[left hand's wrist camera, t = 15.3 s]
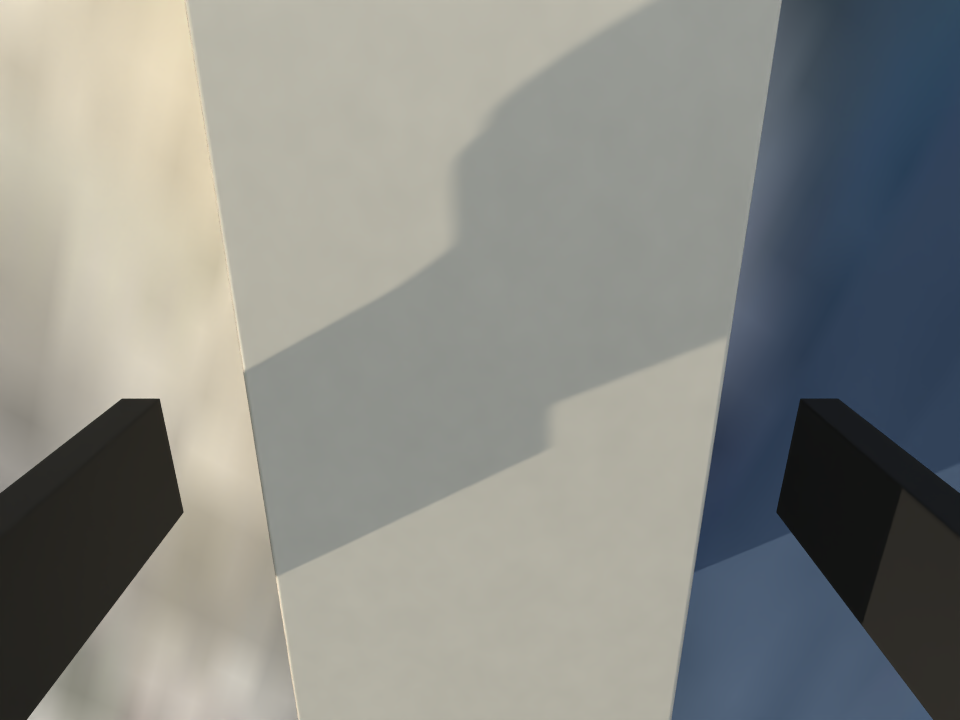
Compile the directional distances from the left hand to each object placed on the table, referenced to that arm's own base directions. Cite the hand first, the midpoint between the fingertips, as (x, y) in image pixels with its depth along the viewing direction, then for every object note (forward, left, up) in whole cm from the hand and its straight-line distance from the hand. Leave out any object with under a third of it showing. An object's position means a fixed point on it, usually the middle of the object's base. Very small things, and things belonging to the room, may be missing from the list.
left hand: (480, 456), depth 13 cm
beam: (+33, +7, -3) cm, 34 cm away
